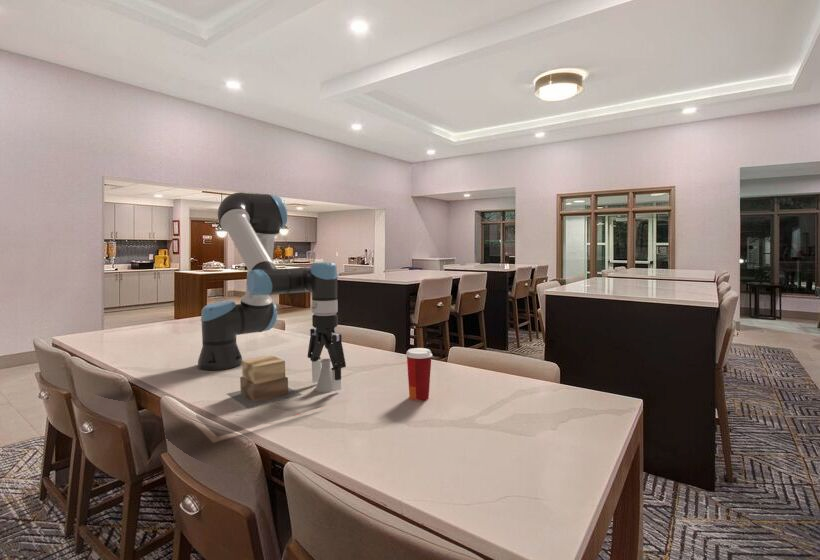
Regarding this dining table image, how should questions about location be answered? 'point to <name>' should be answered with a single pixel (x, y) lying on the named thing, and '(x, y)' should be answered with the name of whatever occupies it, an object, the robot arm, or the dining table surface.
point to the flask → (325, 377)
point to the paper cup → (419, 373)
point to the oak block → (263, 369)
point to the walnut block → (264, 389)
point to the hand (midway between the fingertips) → (326, 385)
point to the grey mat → (251, 404)
